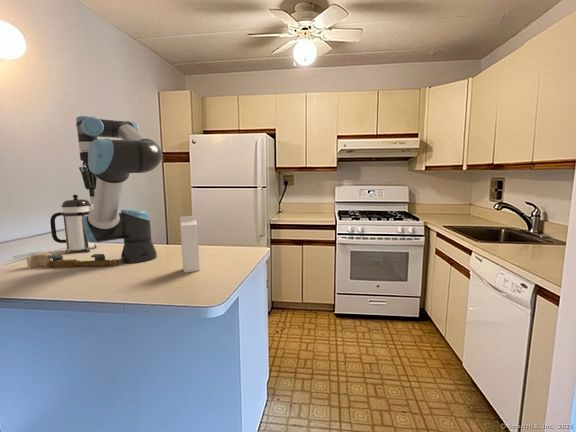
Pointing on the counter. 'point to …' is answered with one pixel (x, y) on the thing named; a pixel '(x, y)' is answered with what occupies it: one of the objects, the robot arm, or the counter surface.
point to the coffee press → (73, 224)
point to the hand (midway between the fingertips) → (94, 203)
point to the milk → (189, 243)
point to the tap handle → (80, 263)
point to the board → (44, 258)
